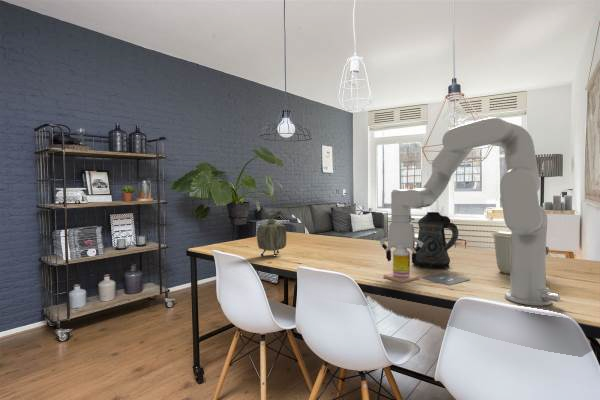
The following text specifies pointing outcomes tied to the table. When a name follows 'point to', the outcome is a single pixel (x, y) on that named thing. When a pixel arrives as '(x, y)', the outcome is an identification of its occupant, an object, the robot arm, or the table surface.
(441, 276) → the tile
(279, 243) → the tabletop clock
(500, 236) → the canister
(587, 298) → the table surface
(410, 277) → the coaster pad
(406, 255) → the supplement bottle
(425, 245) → the beer stein
